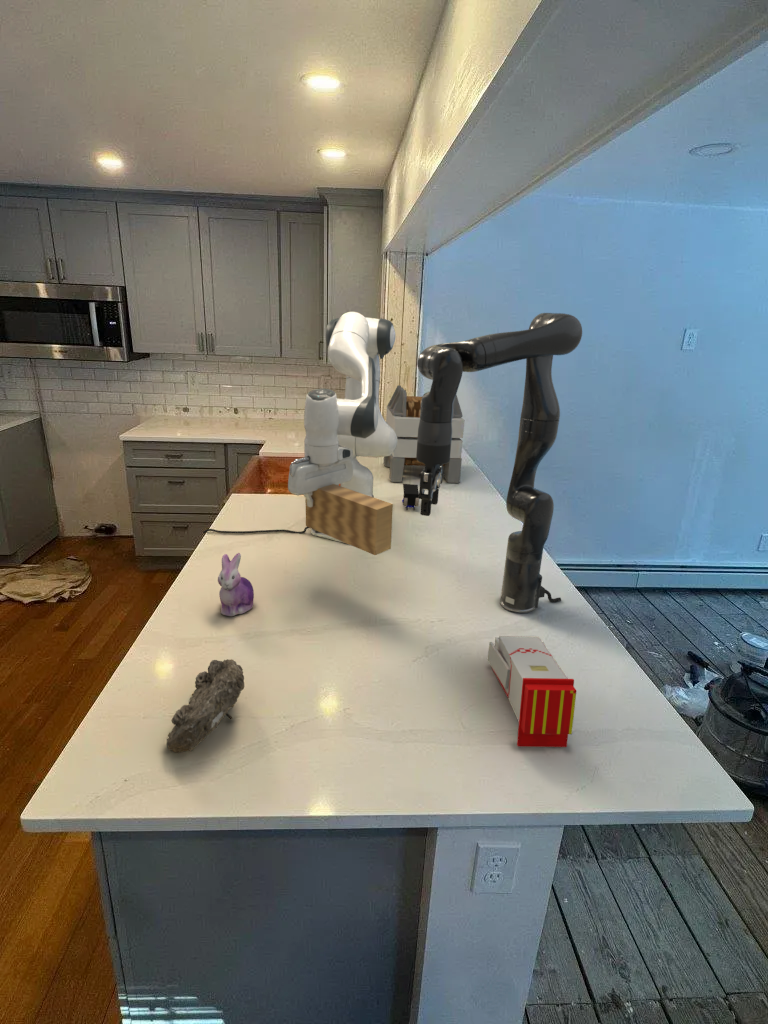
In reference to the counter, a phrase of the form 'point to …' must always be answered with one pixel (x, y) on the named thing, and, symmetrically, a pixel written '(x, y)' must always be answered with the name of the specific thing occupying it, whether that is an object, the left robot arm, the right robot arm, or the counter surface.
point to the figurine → (234, 588)
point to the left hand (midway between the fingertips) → (321, 503)
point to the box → (351, 518)
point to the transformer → (405, 424)
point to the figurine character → (410, 496)
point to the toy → (534, 690)
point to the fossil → (206, 705)
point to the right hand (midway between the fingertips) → (429, 509)
